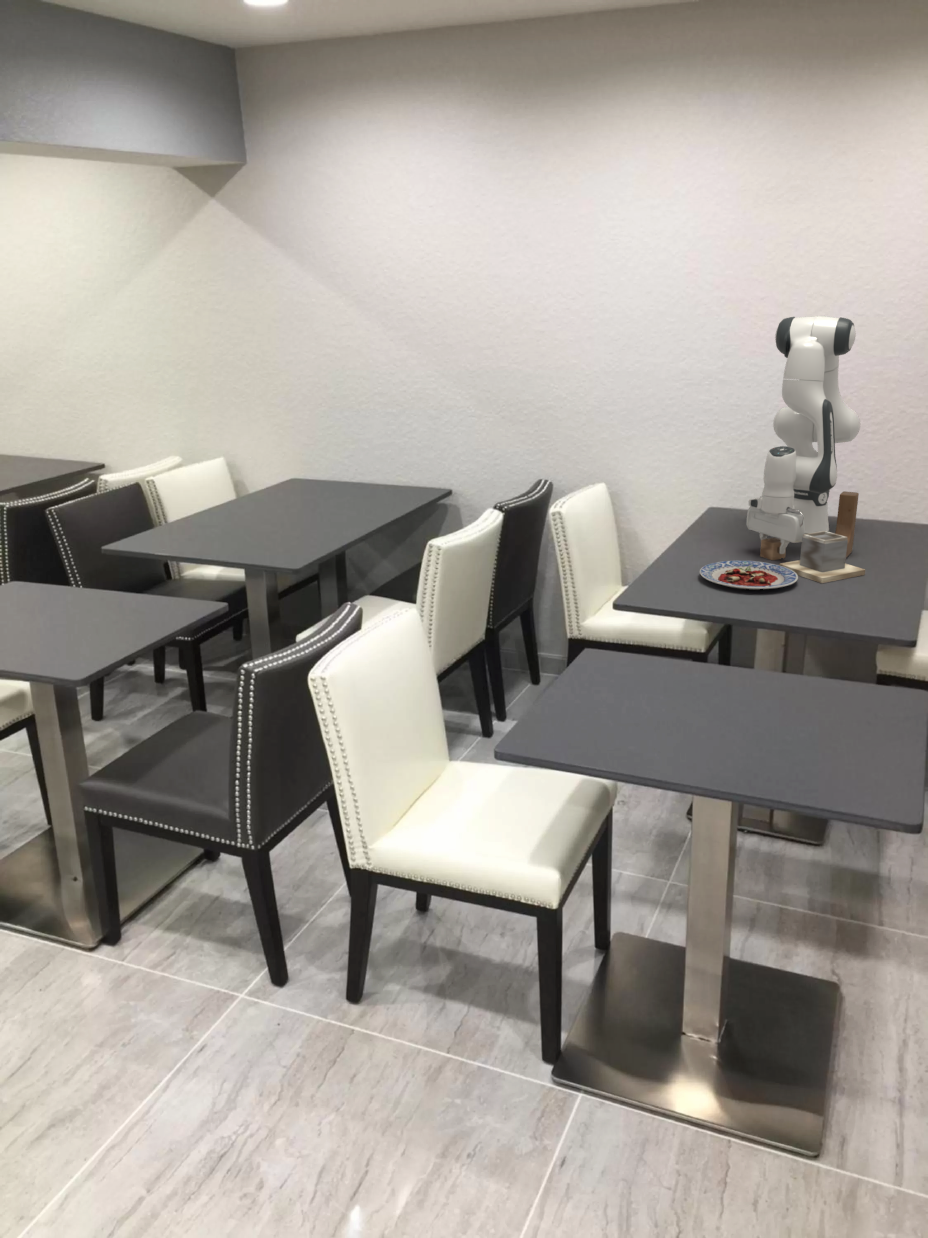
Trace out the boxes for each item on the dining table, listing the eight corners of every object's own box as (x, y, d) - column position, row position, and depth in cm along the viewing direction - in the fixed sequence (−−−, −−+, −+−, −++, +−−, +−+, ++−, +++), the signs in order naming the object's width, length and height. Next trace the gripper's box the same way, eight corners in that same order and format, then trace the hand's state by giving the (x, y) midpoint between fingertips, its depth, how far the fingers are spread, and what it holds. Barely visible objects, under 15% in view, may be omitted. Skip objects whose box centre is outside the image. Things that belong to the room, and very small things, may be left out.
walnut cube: (759, 556, 297) (761, 539, 295) (772, 554, 299) (774, 537, 297) (772, 560, 292) (773, 543, 291) (785, 558, 295) (786, 541, 293)
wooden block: (845, 559, 292) (852, 498, 286) (829, 557, 294) (835, 496, 289) (852, 552, 299) (859, 492, 294) (836, 550, 302) (843, 490, 296)
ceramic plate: (794, 599, 259) (795, 588, 258) (692, 590, 267) (693, 579, 266) (799, 572, 282) (800, 562, 281) (705, 564, 290) (706, 554, 289)
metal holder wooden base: (778, 568, 284) (782, 533, 281) (820, 561, 291) (824, 526, 288) (821, 583, 271) (825, 546, 267) (864, 574, 278) (869, 538, 274)
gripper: (812, 510, 283) (807, 557, 288) (760, 496, 300) (757, 541, 305) (795, 512, 280) (790, 560, 285) (744, 499, 298) (741, 544, 302)
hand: (773, 550), depth 295 cm, fingers closed on walnut cube, 5 cm apart
